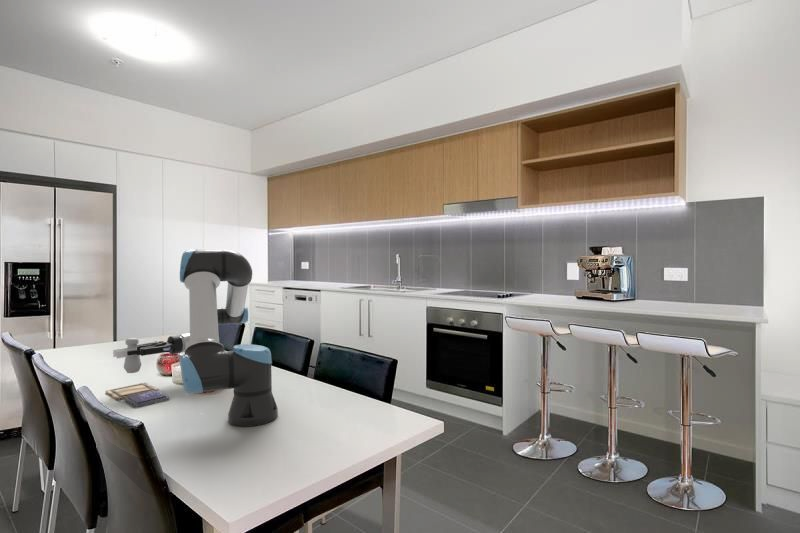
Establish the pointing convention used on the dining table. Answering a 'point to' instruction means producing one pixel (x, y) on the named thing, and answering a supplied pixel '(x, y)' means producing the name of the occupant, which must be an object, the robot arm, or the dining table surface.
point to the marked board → (131, 390)
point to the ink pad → (146, 398)
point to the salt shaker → (132, 357)
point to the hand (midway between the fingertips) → (115, 353)
